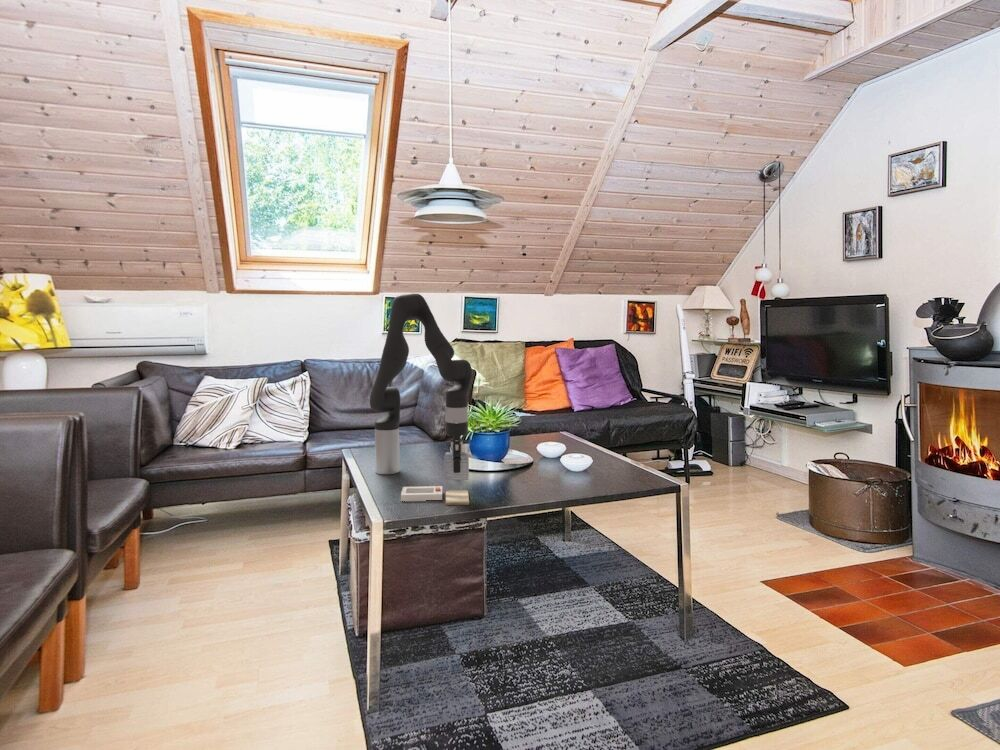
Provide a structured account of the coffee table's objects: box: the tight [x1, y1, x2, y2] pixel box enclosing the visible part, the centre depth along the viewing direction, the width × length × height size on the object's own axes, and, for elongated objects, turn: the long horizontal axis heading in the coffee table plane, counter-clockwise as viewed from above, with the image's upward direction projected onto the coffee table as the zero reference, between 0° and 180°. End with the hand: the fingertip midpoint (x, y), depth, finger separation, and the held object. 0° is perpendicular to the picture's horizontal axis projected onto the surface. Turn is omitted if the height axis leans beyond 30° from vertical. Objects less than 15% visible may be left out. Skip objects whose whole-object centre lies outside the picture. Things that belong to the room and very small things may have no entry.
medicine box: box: [443, 451, 470, 481], centre depth 215 cm, size 8×4×9 cm, turn 90°
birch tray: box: [445, 489, 470, 506], centre depth 216 cm, size 14×8×1 cm, turn 5°
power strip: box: [400, 483, 443, 502], centre depth 223 cm, size 18×14×3 cm
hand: (456, 470), depth 215 cm, fingers closed on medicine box, 4 cm apart
